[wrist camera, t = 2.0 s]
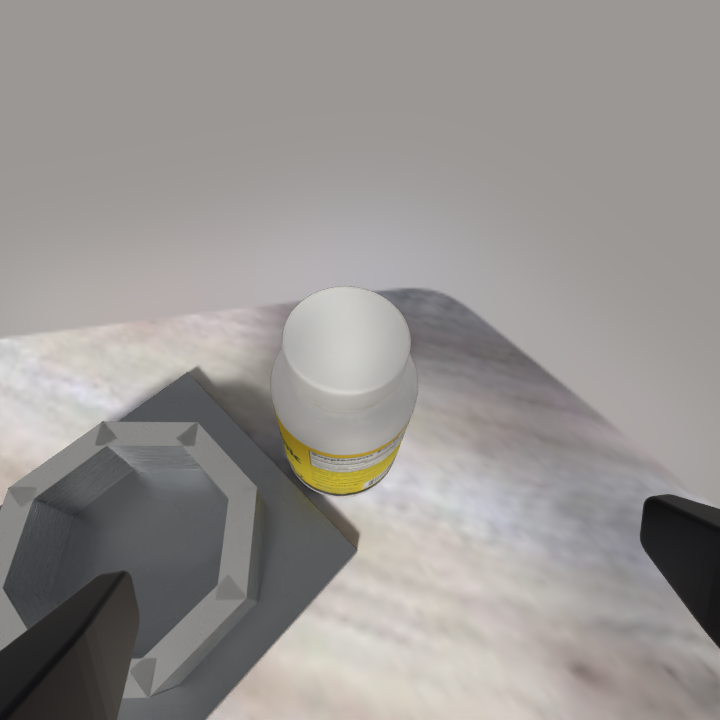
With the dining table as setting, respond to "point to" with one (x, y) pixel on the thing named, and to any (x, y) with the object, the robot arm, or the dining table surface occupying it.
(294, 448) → the supplement bottle
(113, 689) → the robot arm
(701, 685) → the dining table surface
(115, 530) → the collar
